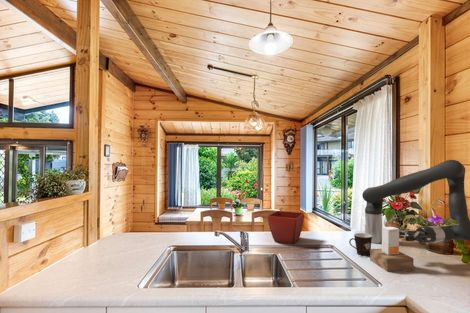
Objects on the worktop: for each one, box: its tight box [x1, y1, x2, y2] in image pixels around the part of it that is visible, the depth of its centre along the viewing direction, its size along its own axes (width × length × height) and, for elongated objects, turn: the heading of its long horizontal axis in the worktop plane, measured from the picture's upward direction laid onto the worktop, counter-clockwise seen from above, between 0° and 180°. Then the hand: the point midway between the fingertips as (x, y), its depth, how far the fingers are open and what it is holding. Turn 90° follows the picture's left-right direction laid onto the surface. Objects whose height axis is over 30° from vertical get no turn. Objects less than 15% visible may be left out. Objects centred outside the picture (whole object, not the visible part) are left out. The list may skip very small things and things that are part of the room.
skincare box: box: [381, 226, 400, 255], centre depth 124 cm, size 6×4×12 cm
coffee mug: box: [348, 232, 372, 257], centre depth 140 cm, size 12×9×10 cm
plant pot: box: [266, 210, 305, 245], centre depth 167 cm, size 19×19×17 cm
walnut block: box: [369, 248, 415, 273], centre depth 123 cm, size 14×12×6 cm
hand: (399, 236), depth 124 cm, fingers open, 8 cm apart
